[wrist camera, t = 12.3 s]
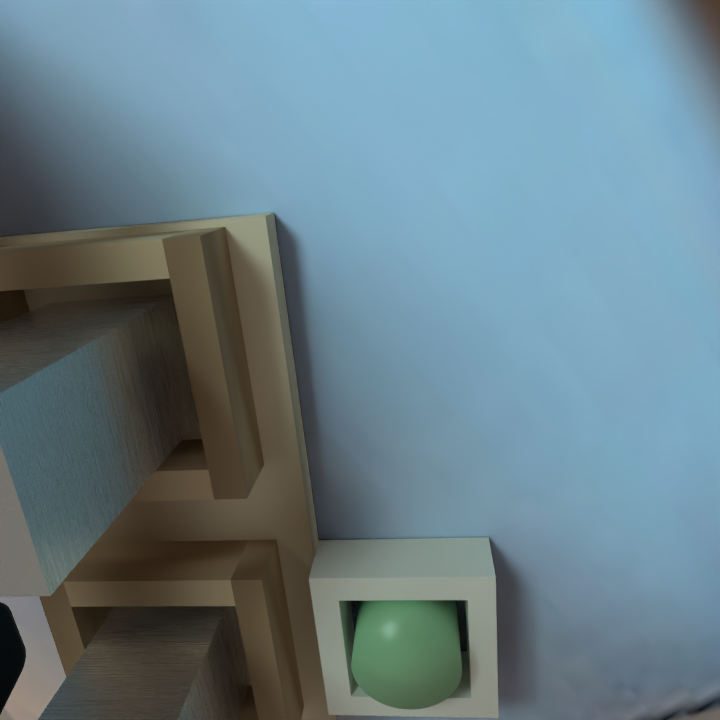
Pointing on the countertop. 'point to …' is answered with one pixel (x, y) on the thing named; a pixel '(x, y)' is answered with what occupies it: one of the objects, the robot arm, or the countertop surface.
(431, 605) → the button
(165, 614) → the block
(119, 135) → the countertop surface
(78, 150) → the countertop surface
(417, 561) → the white flat square frame
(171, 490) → the board
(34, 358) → the block
